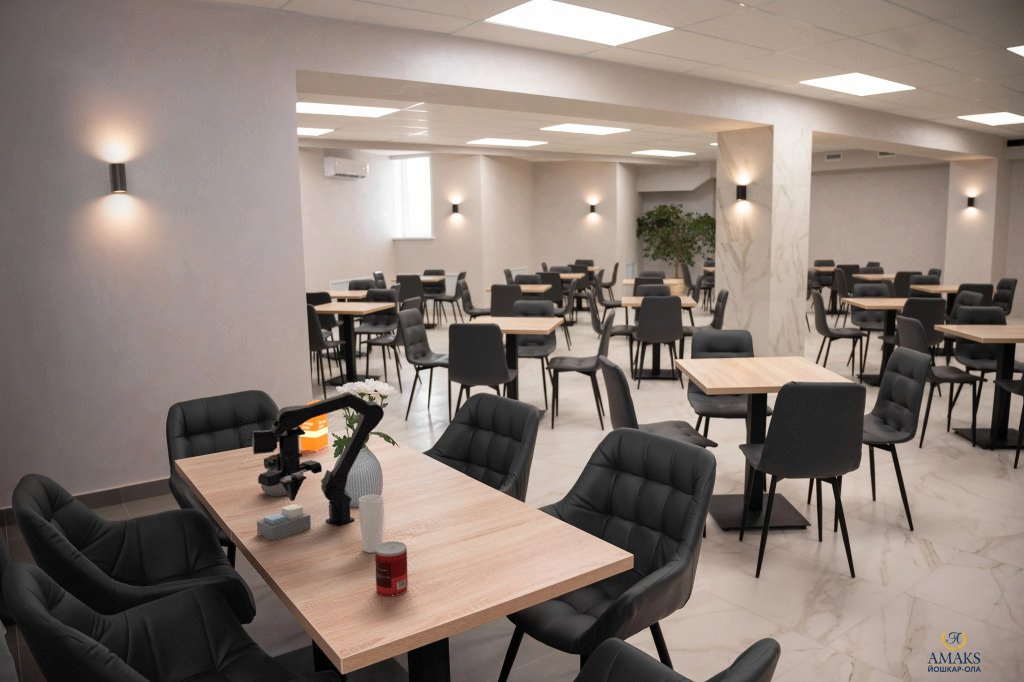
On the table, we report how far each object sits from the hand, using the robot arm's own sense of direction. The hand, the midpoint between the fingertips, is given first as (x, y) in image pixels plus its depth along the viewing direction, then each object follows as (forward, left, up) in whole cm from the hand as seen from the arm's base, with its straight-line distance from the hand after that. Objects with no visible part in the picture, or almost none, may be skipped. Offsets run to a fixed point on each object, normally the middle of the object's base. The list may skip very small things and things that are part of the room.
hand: (292, 500), depth 227 cm
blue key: (0, +6, -7) cm, 10 cm away
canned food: (-54, +9, -9) cm, 56 cm away
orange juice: (+71, -58, -9) cm, 92 cm away
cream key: (0, 0, -6) cm, 6 cm away
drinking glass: (-31, -4, -9) cm, 33 cm away
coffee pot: (+28, -14, -9) cm, 32 cm away
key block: (0, +3, -9) cm, 9 cm away
